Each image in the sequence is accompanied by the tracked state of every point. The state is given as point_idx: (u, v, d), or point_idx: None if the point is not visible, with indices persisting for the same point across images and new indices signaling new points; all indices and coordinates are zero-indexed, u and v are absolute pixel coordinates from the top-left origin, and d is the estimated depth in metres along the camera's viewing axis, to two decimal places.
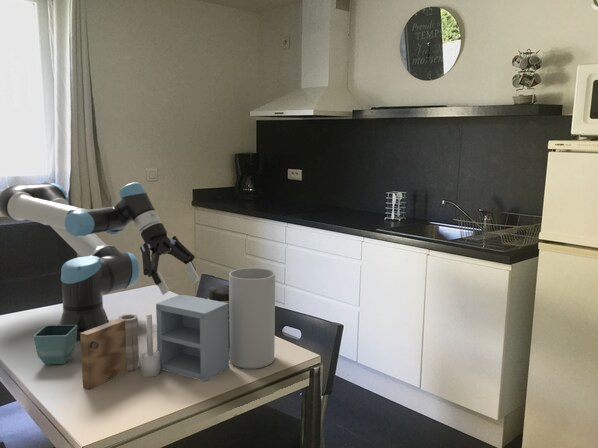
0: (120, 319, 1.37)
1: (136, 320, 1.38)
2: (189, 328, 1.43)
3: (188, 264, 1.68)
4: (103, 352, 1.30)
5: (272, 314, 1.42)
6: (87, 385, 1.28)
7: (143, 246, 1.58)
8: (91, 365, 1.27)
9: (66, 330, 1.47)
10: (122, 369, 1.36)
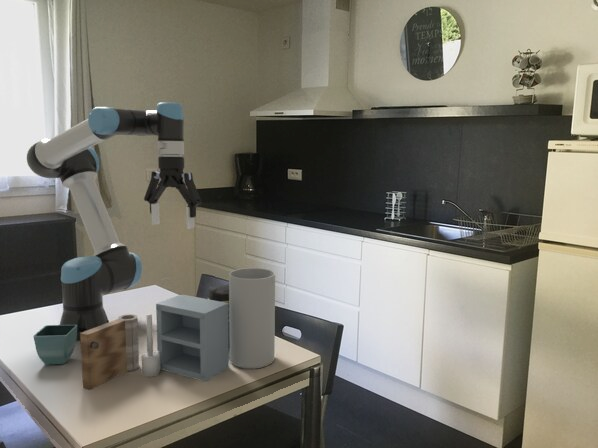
0: (120, 319, 1.37)
1: (136, 320, 1.38)
2: (189, 328, 1.43)
3: None
4: (103, 352, 1.30)
5: (272, 314, 1.42)
6: (87, 385, 1.28)
7: None
8: (91, 365, 1.27)
9: (66, 330, 1.47)
10: (122, 369, 1.36)
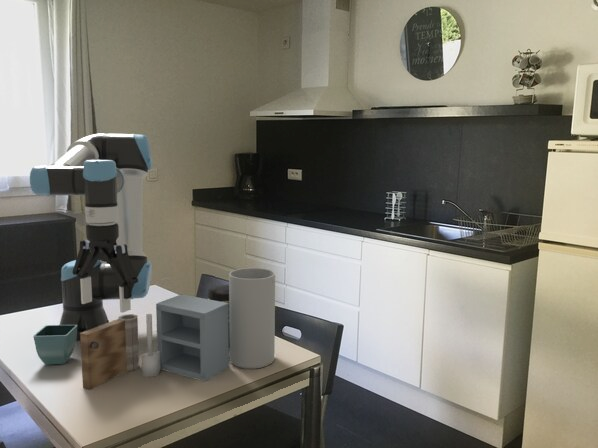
0: (120, 319, 1.37)
1: (136, 320, 1.38)
2: (189, 328, 1.43)
3: None
4: (103, 352, 1.30)
5: (272, 314, 1.42)
6: (87, 385, 1.28)
7: None
8: (91, 365, 1.27)
9: (66, 330, 1.47)
10: (122, 369, 1.36)
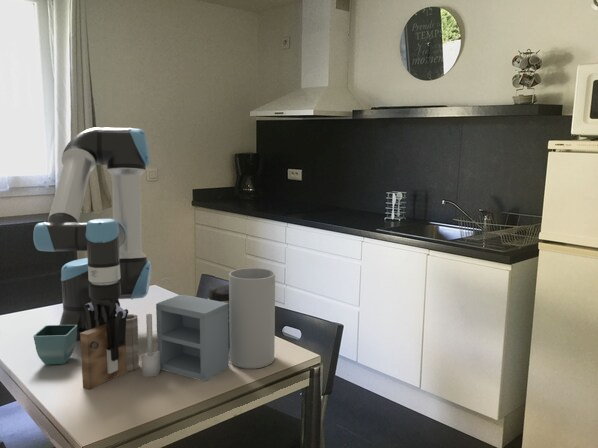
0: None
1: (136, 320, 1.38)
2: (189, 328, 1.43)
3: None
4: (103, 352, 1.30)
5: (272, 314, 1.42)
6: (87, 385, 1.28)
7: None
8: (91, 365, 1.27)
9: (66, 330, 1.47)
10: (122, 369, 1.36)
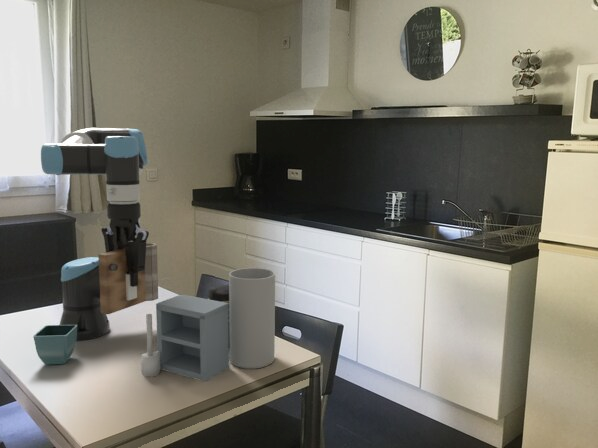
0: None
1: (155, 247, 1.31)
2: (189, 328, 1.43)
3: None
4: (122, 276, 1.24)
5: (272, 314, 1.42)
6: (105, 309, 1.21)
7: None
8: (110, 289, 1.21)
9: (66, 330, 1.47)
10: (141, 298, 1.30)
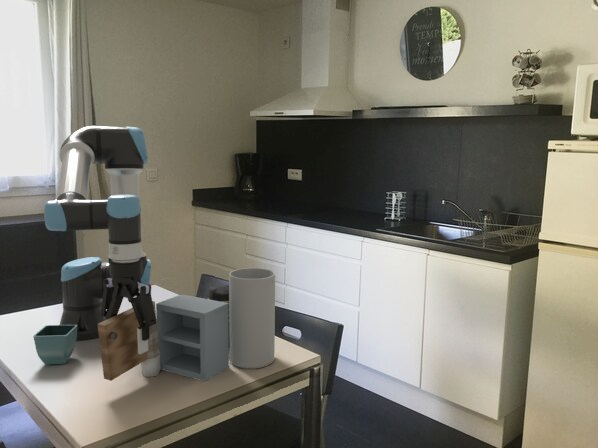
0: None
1: (154, 307, 1.33)
2: (189, 328, 1.43)
3: None
4: (122, 341, 1.26)
5: (272, 314, 1.42)
6: (108, 376, 1.24)
7: None
8: (111, 356, 1.23)
9: (66, 330, 1.47)
10: (142, 357, 1.32)
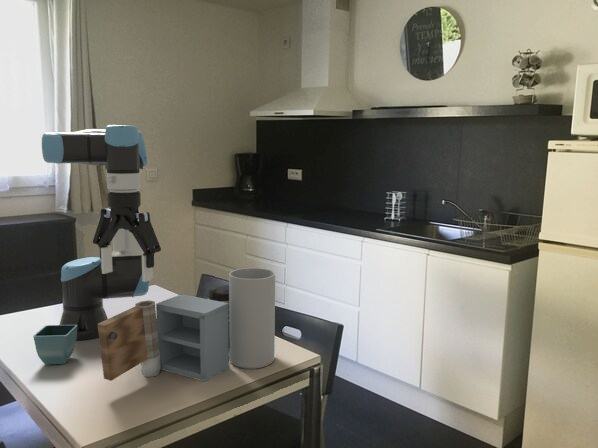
0: (137, 306, 1.31)
1: (154, 307, 1.33)
2: (189, 328, 1.43)
3: None
4: (122, 341, 1.26)
5: (272, 314, 1.42)
6: (108, 376, 1.24)
7: None
8: (111, 356, 1.23)
9: (66, 330, 1.47)
10: (142, 357, 1.32)
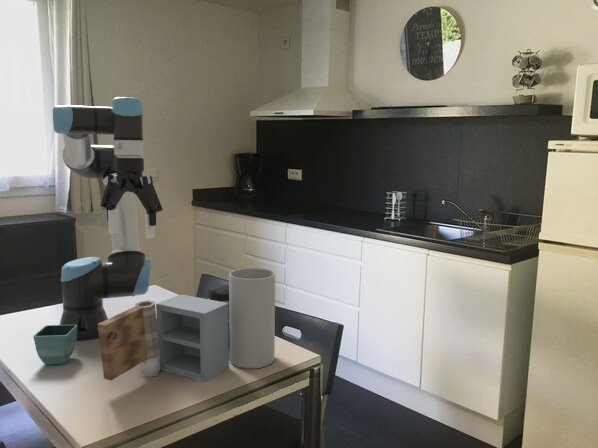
0: (137, 306, 1.31)
1: (154, 307, 1.33)
2: (189, 328, 1.43)
3: None
4: (122, 341, 1.26)
5: (272, 314, 1.42)
6: (108, 376, 1.24)
7: None
8: (111, 356, 1.23)
9: (66, 330, 1.47)
10: (142, 357, 1.32)
